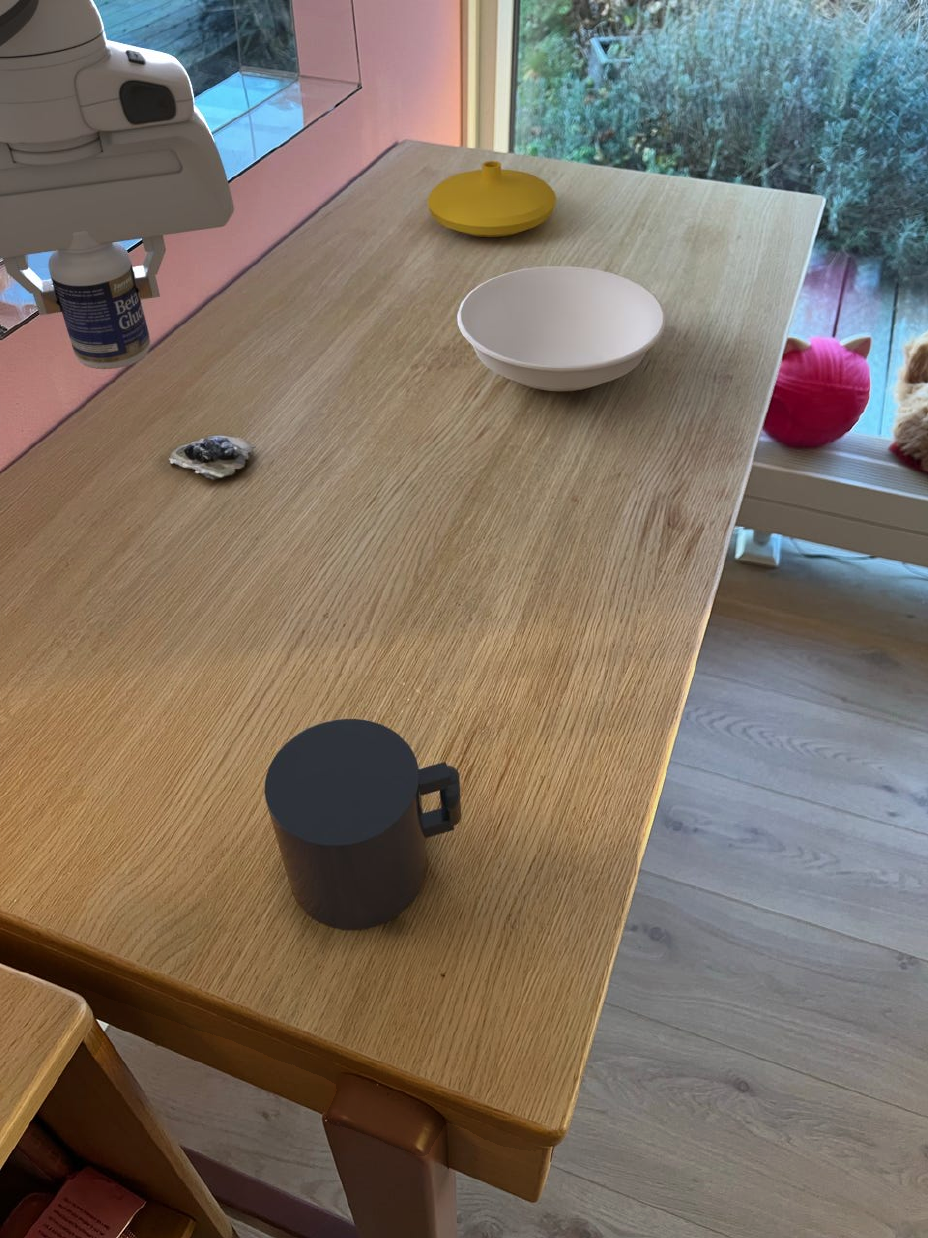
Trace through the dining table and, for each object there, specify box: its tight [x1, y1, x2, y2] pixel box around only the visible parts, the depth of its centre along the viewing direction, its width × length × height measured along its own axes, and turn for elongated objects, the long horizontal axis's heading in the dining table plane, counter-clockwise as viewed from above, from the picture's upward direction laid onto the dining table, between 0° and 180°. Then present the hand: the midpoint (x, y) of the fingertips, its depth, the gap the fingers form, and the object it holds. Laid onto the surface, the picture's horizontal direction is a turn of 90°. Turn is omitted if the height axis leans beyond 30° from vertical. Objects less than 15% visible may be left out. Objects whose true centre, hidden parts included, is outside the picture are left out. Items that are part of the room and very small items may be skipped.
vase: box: [427, 160, 557, 238], centre depth 122 cm, size 16×16×7 cm
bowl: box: [456, 265, 667, 392], centre depth 97 cm, size 20×20×6 cm
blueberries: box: [168, 434, 257, 481], centre depth 90 cm, size 7×8×2 cm
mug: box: [264, 718, 462, 931], centre depth 58 cm, size 11×8×9 cm
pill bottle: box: [48, 231, 151, 370], centre depth 69 cm, size 5×5×10 cm
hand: (101, 302), depth 70 cm, fingers closed on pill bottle, 5 cm apart
